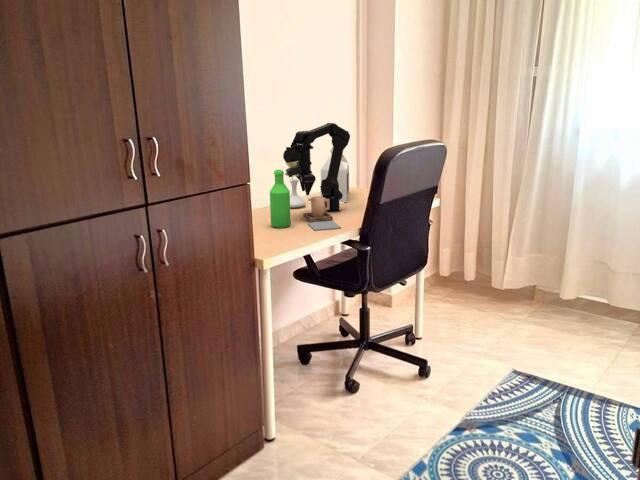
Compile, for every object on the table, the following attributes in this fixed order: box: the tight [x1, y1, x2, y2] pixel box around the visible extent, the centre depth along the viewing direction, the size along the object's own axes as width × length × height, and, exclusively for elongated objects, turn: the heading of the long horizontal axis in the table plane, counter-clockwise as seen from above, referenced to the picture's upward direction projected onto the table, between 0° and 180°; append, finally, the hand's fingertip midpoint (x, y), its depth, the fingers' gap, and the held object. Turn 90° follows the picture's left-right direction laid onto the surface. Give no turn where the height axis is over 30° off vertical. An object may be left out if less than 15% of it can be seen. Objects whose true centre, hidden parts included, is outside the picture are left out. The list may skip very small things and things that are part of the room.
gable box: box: [320, 146, 350, 203], centre depth 300 cm, size 22×13×28 cm, turn 174°
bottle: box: [269, 169, 292, 229], centre depth 248 cm, size 9×9×25 cm
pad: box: [307, 220, 342, 232], centre depth 250 cm, size 12×12×1 cm
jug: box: [308, 195, 330, 218], centre depth 262 cm, size 10×6×10 cm, turn 106°
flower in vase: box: [284, 161, 307, 209], centre depth 284 cm, size 13×11×25 cm
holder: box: [303, 210, 334, 223], centre depth 263 cm, size 11×11×2 cm
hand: (305, 193), depth 262 cm, fingers open, 9 cm apart
